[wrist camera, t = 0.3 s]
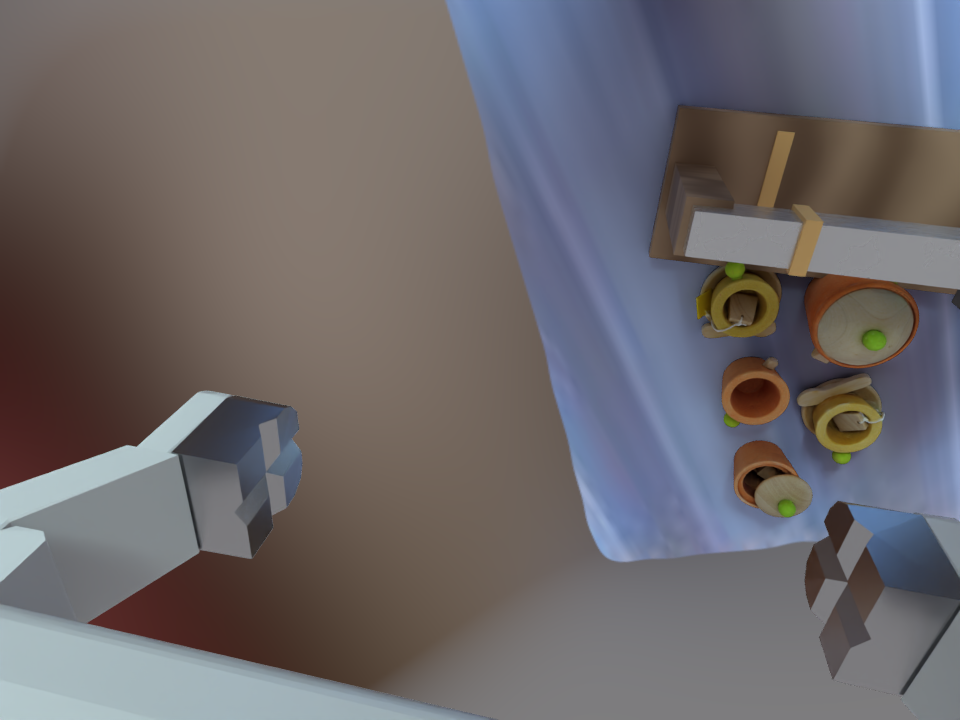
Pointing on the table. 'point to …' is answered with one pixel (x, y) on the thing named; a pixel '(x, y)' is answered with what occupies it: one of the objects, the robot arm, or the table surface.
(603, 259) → the table surface
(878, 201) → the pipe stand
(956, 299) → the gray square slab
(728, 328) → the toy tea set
